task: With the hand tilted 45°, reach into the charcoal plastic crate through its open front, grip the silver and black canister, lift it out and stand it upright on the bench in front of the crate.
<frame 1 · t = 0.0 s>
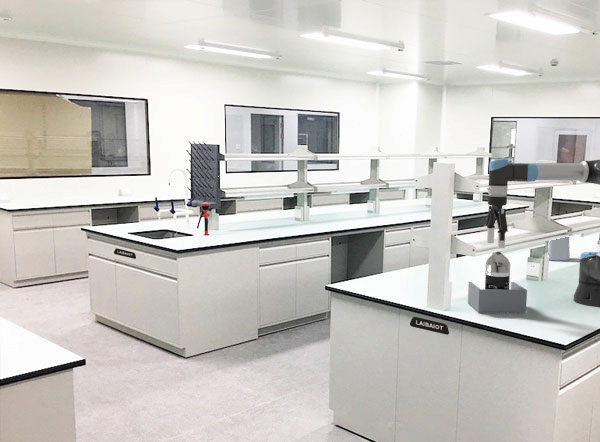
hand: (495, 245, 239), 28 cm above the table, tool pointing down, fingers open, 13 cm apart
crate: (496, 308, 245), on the table
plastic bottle: (555, 259, 360), on the table
silver and black canister: (496, 308, 245), resting in crate
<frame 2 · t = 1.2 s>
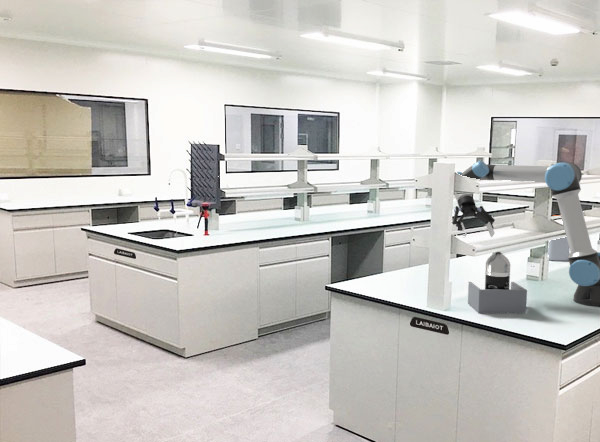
hand: (479, 235, 257), 30 cm above the table, tool tilted 45°, fingers open, 13 cm apart
nothing on the table moved.
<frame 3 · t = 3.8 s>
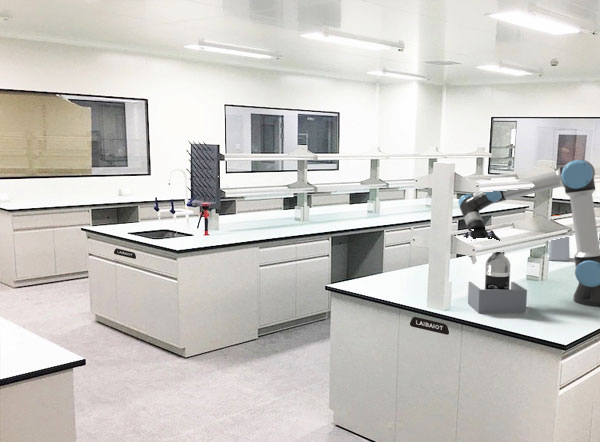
hand: (489, 261, 248), 19 cm above the table, tool tilted 45°, fingers open, 13 cm apart
nothing on the table moved.
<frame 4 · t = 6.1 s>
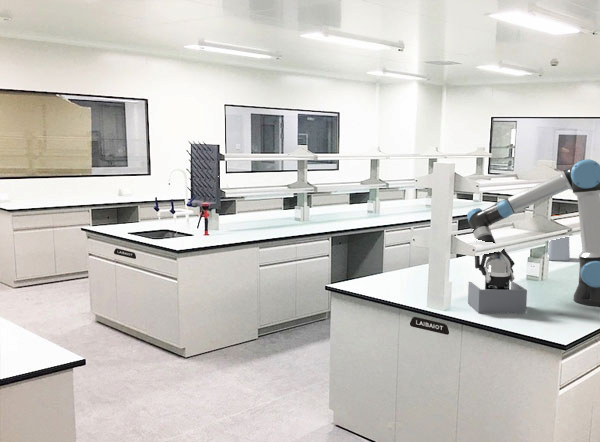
hand: (500, 280, 240), 13 cm above the table, tool tilted 45°, fingers closed on silver and black canister, 10 cm apart
silver and black canister: (496, 308, 245), resting in crate, touching gripper
everything else where it was.
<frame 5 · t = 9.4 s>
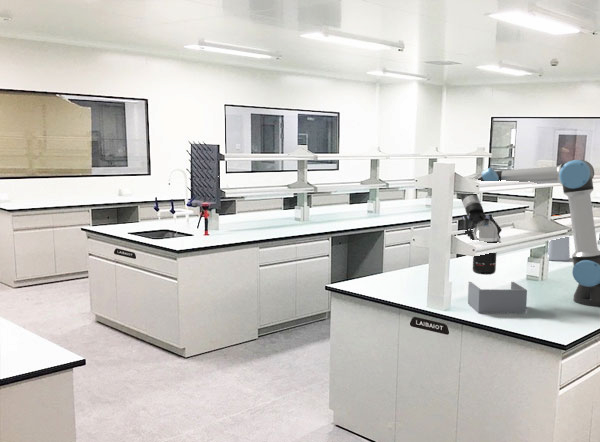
hand: (488, 245, 250), 26 cm above the table, tool tilted 45°, fingers closed on silver and black canister, 10 cm apart
silver and black canister: (483, 273, 255), point 13 cm above the table, touching gripper
everything else where it was.
when the fingers open (14 cm above the table, at t = 12.6 s): silver and black canister drops 1 cm, on the table.
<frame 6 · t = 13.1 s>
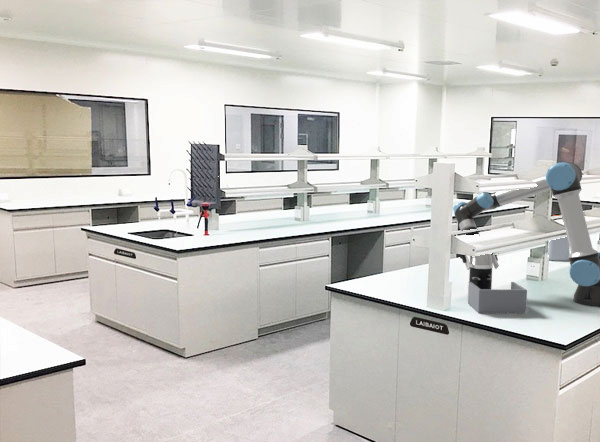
hand: (483, 267, 256), 15 cm above the table, tool tilted 45°, fingers open, 13 cm apart
silver and black canister: (479, 299, 261), on the table
everything else where it was.
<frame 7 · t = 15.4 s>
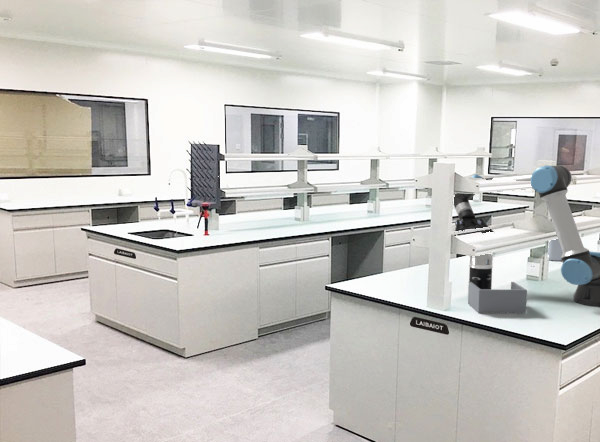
hand: (479, 247, 270), 22 cm above the table, tool tilted 45°, fingers open, 13 cm apart
nothing on the table moved.
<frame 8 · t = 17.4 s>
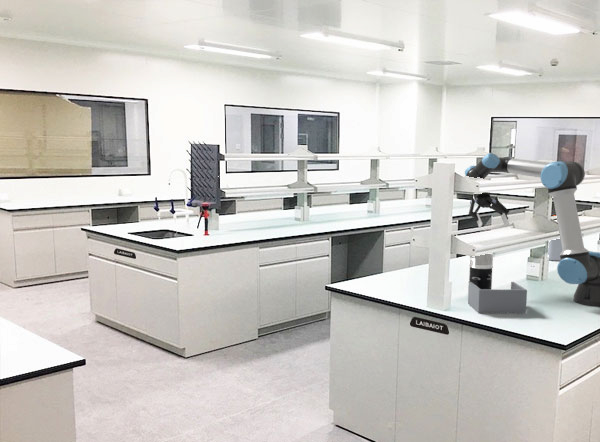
hand: (494, 225, 269), 33 cm above the table, tool tilted 45°, fingers open, 13 cm apart
nothing on the table moved.
at the end: silver and black canister inside the target area (0.4 cm from its centre), on the table; silver and black canister tilted 0°; the gripper is holding nothing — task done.
